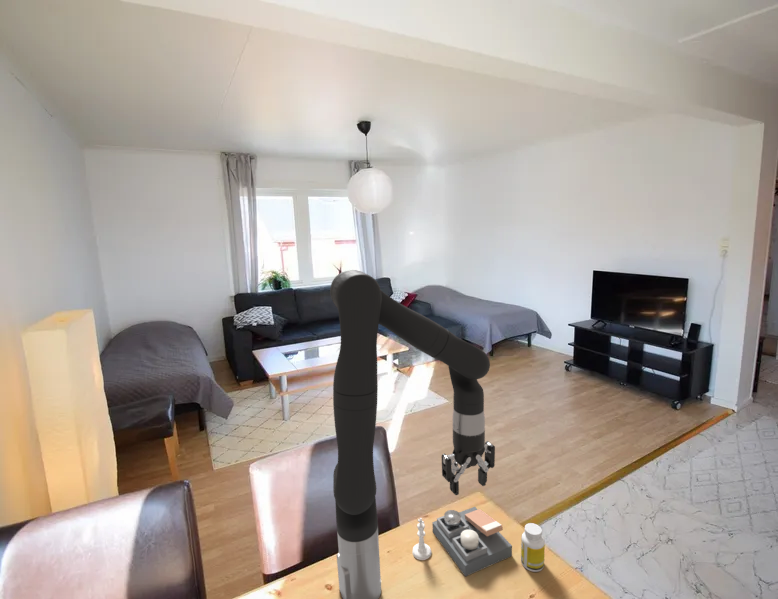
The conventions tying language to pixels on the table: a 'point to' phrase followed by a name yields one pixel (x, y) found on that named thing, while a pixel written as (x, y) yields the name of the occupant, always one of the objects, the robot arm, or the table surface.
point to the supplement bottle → (532, 548)
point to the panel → (479, 558)
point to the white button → (469, 539)
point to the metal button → (452, 519)
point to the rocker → (483, 522)
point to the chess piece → (421, 544)
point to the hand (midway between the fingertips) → (468, 488)
